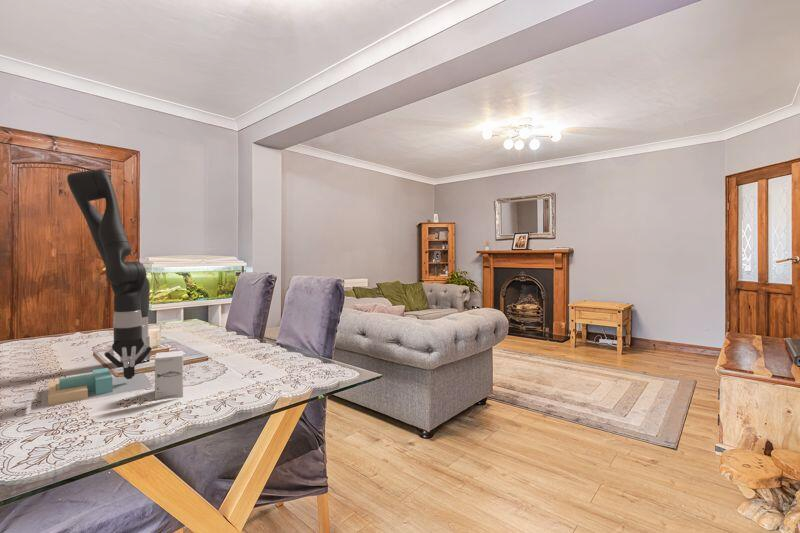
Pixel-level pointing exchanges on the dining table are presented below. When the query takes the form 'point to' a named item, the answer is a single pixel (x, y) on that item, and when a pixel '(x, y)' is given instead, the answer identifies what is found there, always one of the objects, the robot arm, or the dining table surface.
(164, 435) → the dining table surface
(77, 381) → the tee block
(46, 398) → the slot board
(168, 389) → the supplement box
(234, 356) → the dining table surface
